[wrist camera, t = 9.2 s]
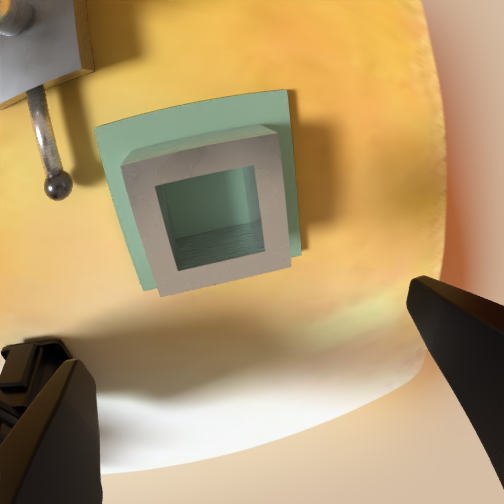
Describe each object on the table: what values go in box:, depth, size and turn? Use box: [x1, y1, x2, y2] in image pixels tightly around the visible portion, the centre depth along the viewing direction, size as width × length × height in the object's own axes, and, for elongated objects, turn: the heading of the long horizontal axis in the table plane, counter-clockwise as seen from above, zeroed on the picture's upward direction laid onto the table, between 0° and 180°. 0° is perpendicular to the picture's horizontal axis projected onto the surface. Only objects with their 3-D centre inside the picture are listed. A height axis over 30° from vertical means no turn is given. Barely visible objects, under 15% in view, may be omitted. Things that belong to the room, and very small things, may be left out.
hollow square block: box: [120, 124, 291, 297], centre depth 15 cm, size 7×7×4 cm
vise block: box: [0, 0, 95, 201], centre depth 9 cm, size 14×6×7 cm, turn 8°
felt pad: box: [94, 90, 301, 291], centre depth 17 cm, size 10×10×1 cm
